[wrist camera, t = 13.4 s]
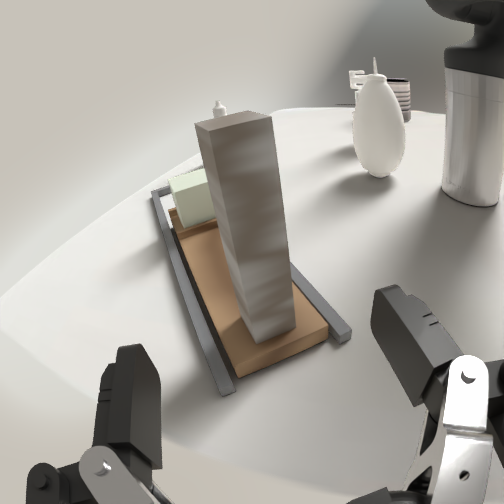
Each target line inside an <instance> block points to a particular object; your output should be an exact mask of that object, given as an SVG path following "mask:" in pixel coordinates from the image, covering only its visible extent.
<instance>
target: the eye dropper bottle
mask: <svg viewBox="0 0 504 504" xmlns="http://www.w3.org/2000/svg"><path fill="white" fill-rule="evenodd" d="M213 113H214V118H218V117H222V116H226V115H227V112H226V107H225V106H222V105H221V103H220V101H219V100H218V101H216V106H215V108H213Z"/></svg>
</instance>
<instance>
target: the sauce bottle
mask: <svg viewBox="0 0 504 504" xmlns="http://www.w3.org/2000/svg"><path fill="white" fill-rule="evenodd" d="M373 62H374V74H369V75H367V79H368V81H367V82H366V83H365V85H364V86H363V88H362V90H361V92H360V94H359V97H358V100H357V103H356V107H355V111H354V117H353V141H354V147H355V151H356V154H357V157H358V159H359V161H360V163H361V165H362V166H363V168H364V169H366V170H368V172H369V173H370V174H371V175H374V176H375V177H378V178H382V177H385V176H388V175H390V174H391V172H393V171H395V170H396V169H397V167H398V166H399V164H400V162H401V160H402V157H403V154H404V149H405V124H404V119H403V115H402V111H401V108H400V105H399V103H398V100H397V98H396V96H395V94H394V92H393V91H392V89H391V88H390V86H389V85H388V84H387V83H386V82H385V81H384V80H386V78H385V76H384V75H380V74H378V72H377V65H376V59H375V57H374V61H373Z"/></svg>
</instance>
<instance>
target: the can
mask: <svg viewBox="0 0 504 504" xmlns="http://www.w3.org/2000/svg"><path fill="white" fill-rule="evenodd" d="M387 84H388V85H389V86H390V88H391V89H392V91H393V92H394V94H395V96H396V98H397V100H398V103H399V105H400V108H401V111H402V115H403V119H404V122H408V121H409V120H410V119H411V112H410V84H409V81H405V80H398V79H389V78H387Z"/></svg>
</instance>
